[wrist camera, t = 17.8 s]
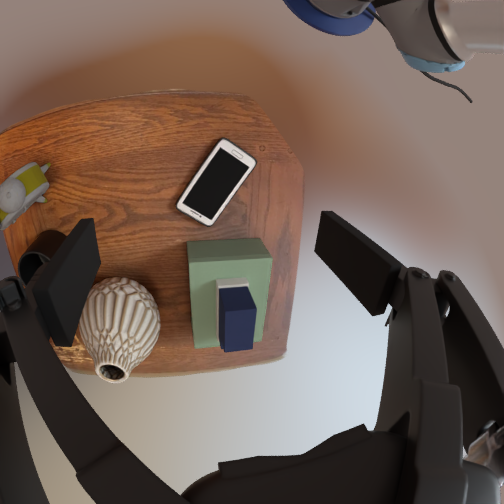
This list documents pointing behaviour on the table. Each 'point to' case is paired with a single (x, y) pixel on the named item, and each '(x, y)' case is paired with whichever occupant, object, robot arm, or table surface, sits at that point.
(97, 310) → the vase
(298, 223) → the table surface
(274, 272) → the table surface
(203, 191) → the cell phone
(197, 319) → the sage green footstool
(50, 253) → the mug
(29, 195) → the alarm clock
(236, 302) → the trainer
